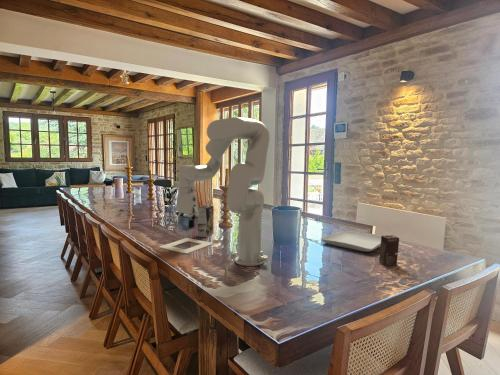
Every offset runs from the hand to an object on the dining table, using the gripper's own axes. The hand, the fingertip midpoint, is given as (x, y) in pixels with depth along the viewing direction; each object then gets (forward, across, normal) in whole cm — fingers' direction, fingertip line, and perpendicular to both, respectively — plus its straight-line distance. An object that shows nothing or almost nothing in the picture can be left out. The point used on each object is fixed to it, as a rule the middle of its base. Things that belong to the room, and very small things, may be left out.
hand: (186, 226), depth 161 cm
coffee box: (+10, +5, -22) cm, 25 cm away
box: (+9, -89, -27) cm, 94 cm away
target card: (+10, 0, 0) cm, 10 cm away
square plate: (+10, -70, -51) cm, 87 cm away
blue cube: (+1, 0, 0) cm, 1 cm away
